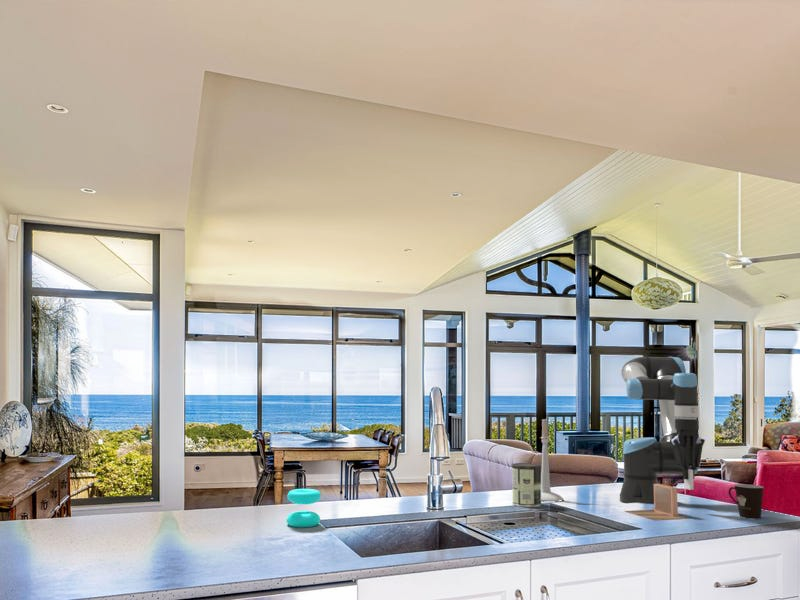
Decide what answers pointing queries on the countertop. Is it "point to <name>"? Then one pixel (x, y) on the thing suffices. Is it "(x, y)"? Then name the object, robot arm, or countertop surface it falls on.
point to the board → (655, 515)
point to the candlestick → (546, 468)
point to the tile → (665, 499)
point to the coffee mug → (748, 500)
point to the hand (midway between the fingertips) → (689, 489)
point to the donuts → (303, 516)
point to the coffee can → (526, 484)
